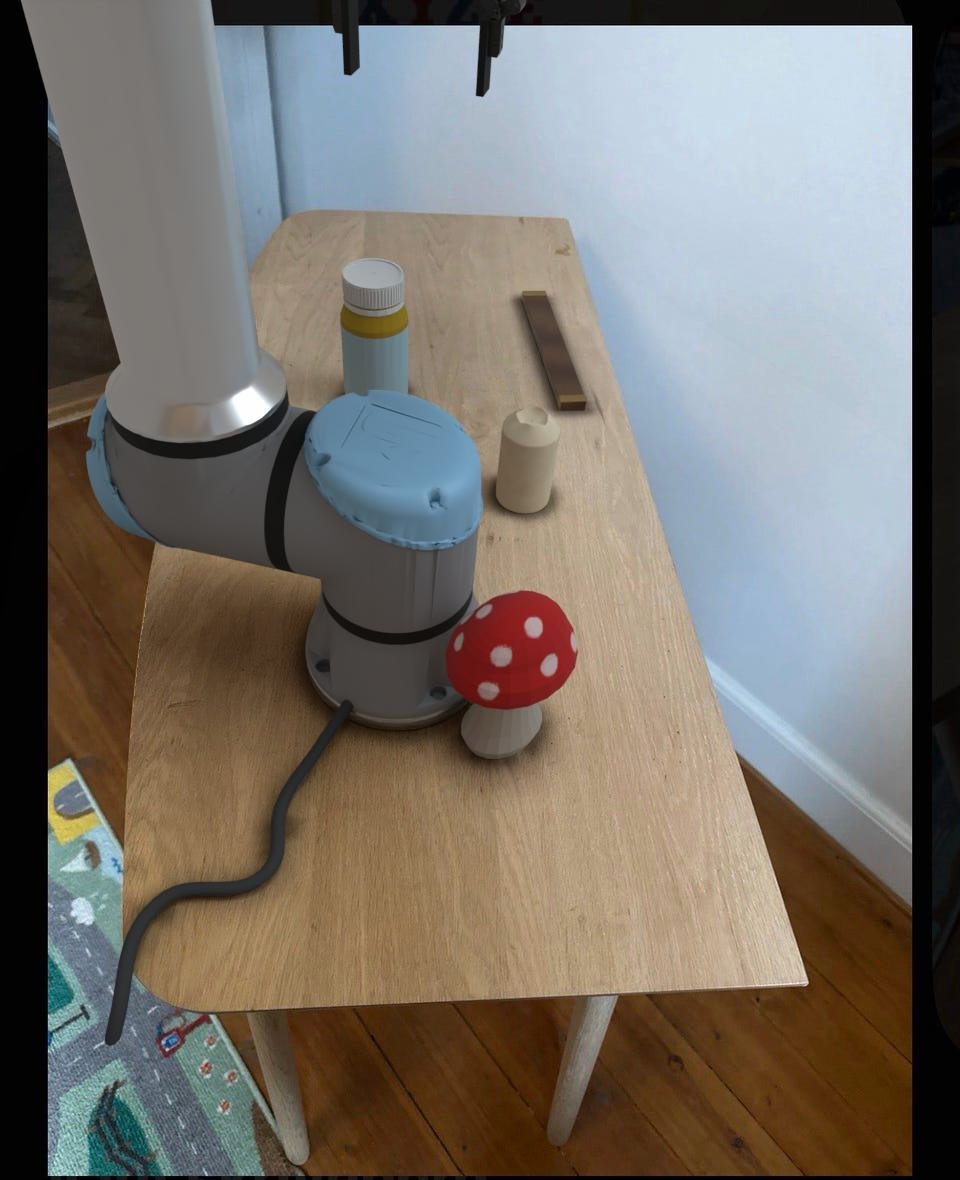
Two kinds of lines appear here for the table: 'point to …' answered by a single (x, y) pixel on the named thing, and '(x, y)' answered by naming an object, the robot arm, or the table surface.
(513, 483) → the candle
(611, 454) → the table surface
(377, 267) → the bottle
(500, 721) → the decorative mushroom
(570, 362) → the wooden bar
